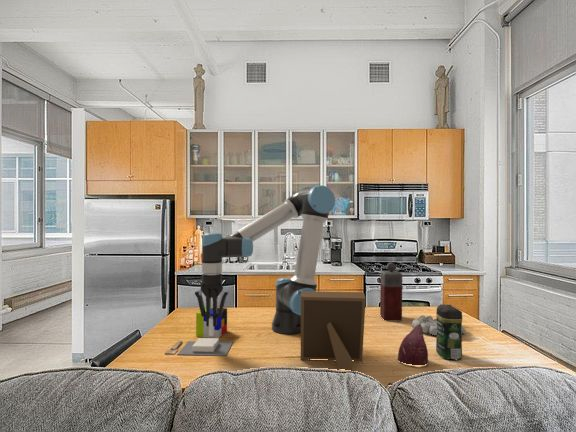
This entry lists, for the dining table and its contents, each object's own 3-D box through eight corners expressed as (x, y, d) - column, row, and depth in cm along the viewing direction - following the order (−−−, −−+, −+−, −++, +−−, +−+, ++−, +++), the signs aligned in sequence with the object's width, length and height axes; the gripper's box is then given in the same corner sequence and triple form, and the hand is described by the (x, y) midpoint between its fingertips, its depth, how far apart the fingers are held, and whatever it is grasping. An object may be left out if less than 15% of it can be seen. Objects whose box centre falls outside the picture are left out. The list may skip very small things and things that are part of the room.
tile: (218, 338, 147) (198, 338, 147) (213, 346, 138) (192, 346, 138) (218, 343, 147) (198, 343, 147) (213, 352, 138) (192, 351, 138)
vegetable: (420, 365, 136) (428, 324, 138) (431, 373, 126) (440, 329, 128) (392, 358, 136) (401, 317, 138) (401, 365, 126) (411, 321, 128)
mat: (232, 342, 149) (232, 341, 149) (226, 355, 135) (226, 355, 135) (188, 341, 150) (188, 341, 150) (177, 355, 136) (177, 354, 136)
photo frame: (300, 355, 136) (301, 287, 136) (360, 357, 135) (361, 288, 135) (300, 373, 121) (300, 297, 121) (367, 375, 120) (368, 298, 120)
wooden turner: (184, 343, 149) (184, 340, 149) (174, 355, 136) (174, 352, 136) (175, 342, 149) (175, 340, 149) (164, 354, 136) (164, 352, 136)
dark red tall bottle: (396, 314, 193) (397, 261, 193) (402, 321, 182) (402, 264, 181) (379, 314, 193) (379, 260, 193) (383, 320, 182) (384, 263, 182)
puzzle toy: (218, 338, 155) (218, 314, 155) (196, 336, 157) (196, 312, 157) (227, 330, 164) (227, 308, 164) (205, 329, 166) (206, 307, 166)
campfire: (422, 339, 155) (423, 325, 155) (405, 325, 176) (405, 312, 176) (474, 340, 156) (475, 326, 156) (451, 325, 177) (451, 313, 177)
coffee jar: (433, 351, 142) (433, 302, 142) (453, 351, 142) (454, 303, 142) (442, 361, 132) (443, 309, 132) (465, 361, 132) (465, 309, 132)
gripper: (230, 272, 146) (230, 331, 146) (197, 271, 146) (197, 331, 146) (227, 275, 138) (226, 338, 139) (192, 274, 139) (191, 337, 139)
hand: (211, 334), depth 142 cm, fingers closed
